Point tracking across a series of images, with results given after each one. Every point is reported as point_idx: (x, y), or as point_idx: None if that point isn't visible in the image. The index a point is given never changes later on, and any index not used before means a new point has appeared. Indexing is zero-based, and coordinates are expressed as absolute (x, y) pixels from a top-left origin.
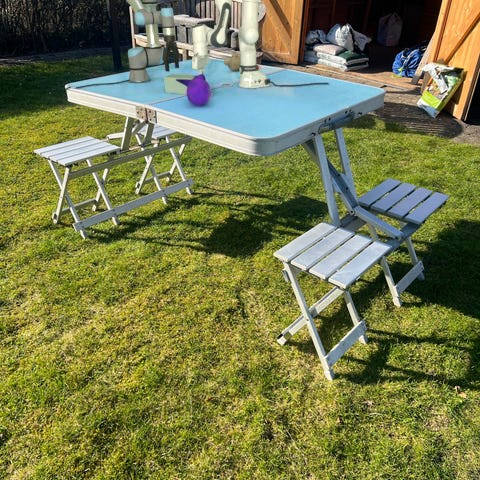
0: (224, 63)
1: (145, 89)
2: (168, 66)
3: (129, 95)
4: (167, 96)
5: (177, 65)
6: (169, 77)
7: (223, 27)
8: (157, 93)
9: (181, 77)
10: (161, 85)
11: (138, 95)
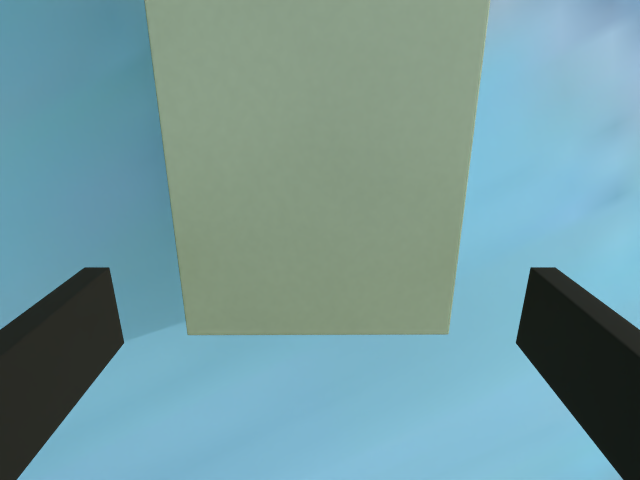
0: None
1: (318, 462)
2: (629, 327)
3: (545, 468)
4: (555, 156)
5: (83, 317)
6: (458, 250)
7: None
8: None
9: (432, 31)
10: (130, 422)
11: (539, 413)
